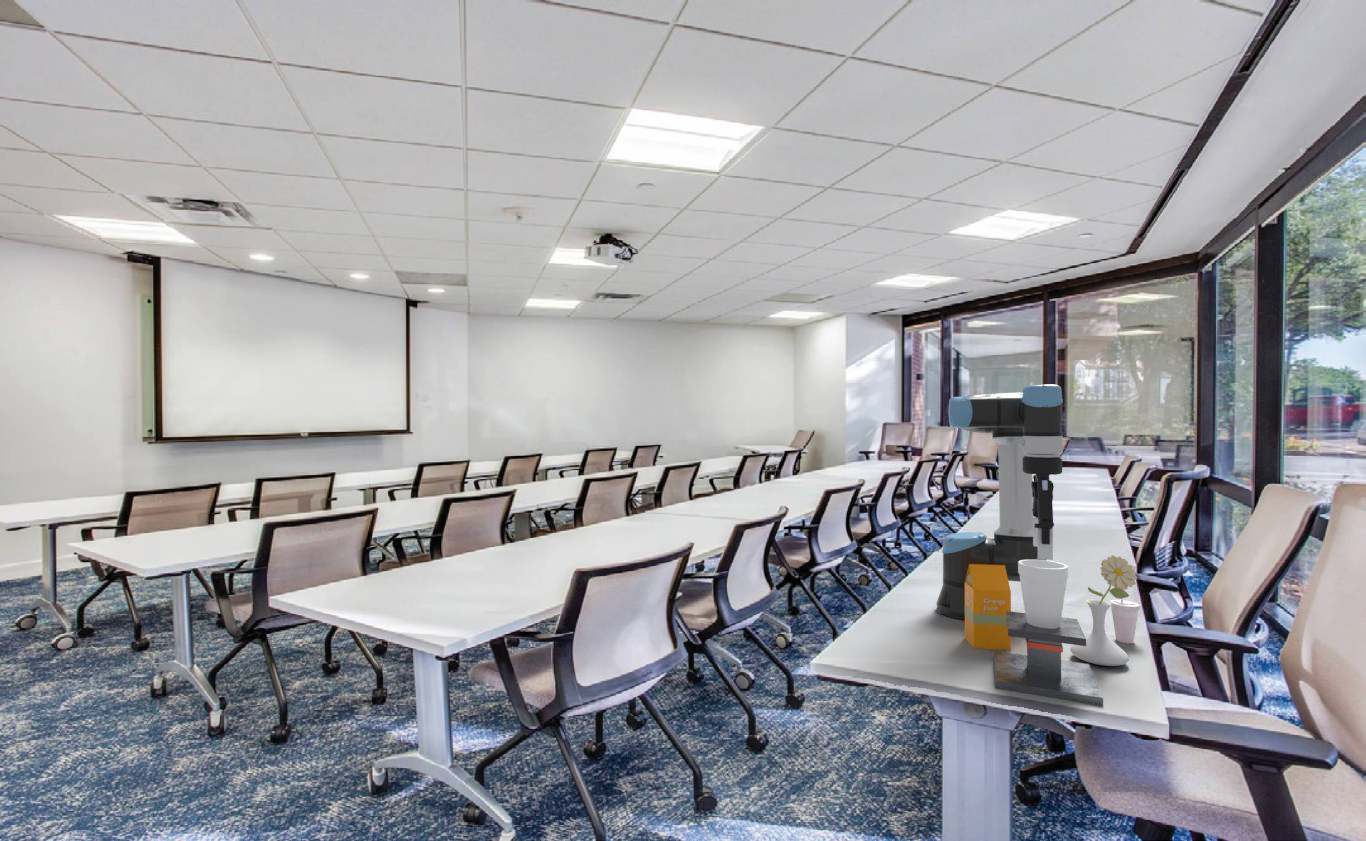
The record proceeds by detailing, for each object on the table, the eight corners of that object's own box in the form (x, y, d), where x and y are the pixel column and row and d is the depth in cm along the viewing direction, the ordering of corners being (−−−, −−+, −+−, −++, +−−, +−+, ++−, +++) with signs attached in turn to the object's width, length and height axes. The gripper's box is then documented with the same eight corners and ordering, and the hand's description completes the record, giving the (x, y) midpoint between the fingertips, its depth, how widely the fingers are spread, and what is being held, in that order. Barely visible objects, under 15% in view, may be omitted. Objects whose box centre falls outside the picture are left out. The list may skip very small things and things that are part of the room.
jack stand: (994, 656, 147) (994, 606, 147) (1089, 670, 139) (1088, 617, 139) (995, 687, 130) (995, 630, 130) (1103, 705, 122) (1102, 644, 122)
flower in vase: (1076, 666, 141) (1076, 557, 141) (1065, 649, 152) (1064, 548, 152) (1145, 674, 137) (1144, 561, 137) (1128, 656, 147) (1127, 551, 147)
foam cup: (1051, 616, 139) (1050, 559, 140) (1078, 630, 130) (1078, 568, 130) (1009, 617, 139) (1009, 559, 139) (1034, 630, 130) (1033, 569, 130)
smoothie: (1112, 634, 162) (1112, 581, 162) (1142, 640, 158) (1142, 585, 158) (1107, 640, 158) (1106, 585, 158) (1137, 647, 153) (1137, 590, 153)
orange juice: (1011, 649, 152) (1011, 568, 152) (973, 647, 153) (973, 567, 153) (1000, 638, 160) (1000, 561, 160) (964, 637, 161) (963, 560, 161)
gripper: (1019, 451, 148) (1020, 540, 148) (1025, 458, 125) (1026, 563, 125) (1056, 452, 144) (1056, 543, 145) (1069, 459, 122) (1069, 566, 122)
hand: (1042, 552), depth 135 cm, fingers open, 13 cm apart
